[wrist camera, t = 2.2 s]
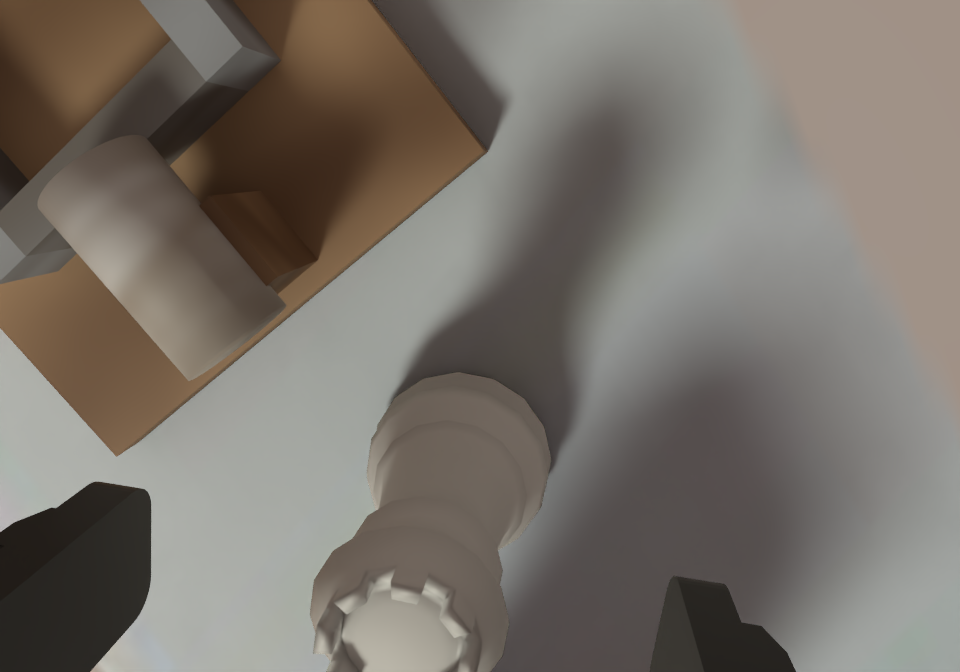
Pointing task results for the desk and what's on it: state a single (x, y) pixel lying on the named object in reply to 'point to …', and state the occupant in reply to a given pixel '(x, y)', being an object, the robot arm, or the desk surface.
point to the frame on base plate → (196, 182)
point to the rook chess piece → (434, 532)
